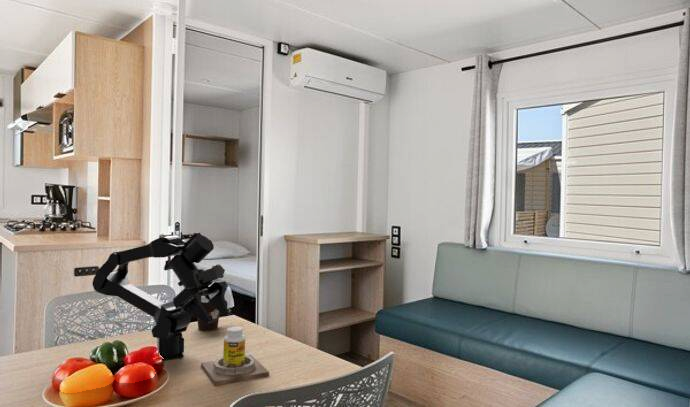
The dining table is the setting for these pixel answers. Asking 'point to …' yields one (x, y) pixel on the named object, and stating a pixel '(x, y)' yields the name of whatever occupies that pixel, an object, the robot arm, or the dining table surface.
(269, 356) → the dining table surface
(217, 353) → the dining table surface
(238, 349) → the supplement bottle
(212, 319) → the coffee mug
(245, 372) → the ring stand
